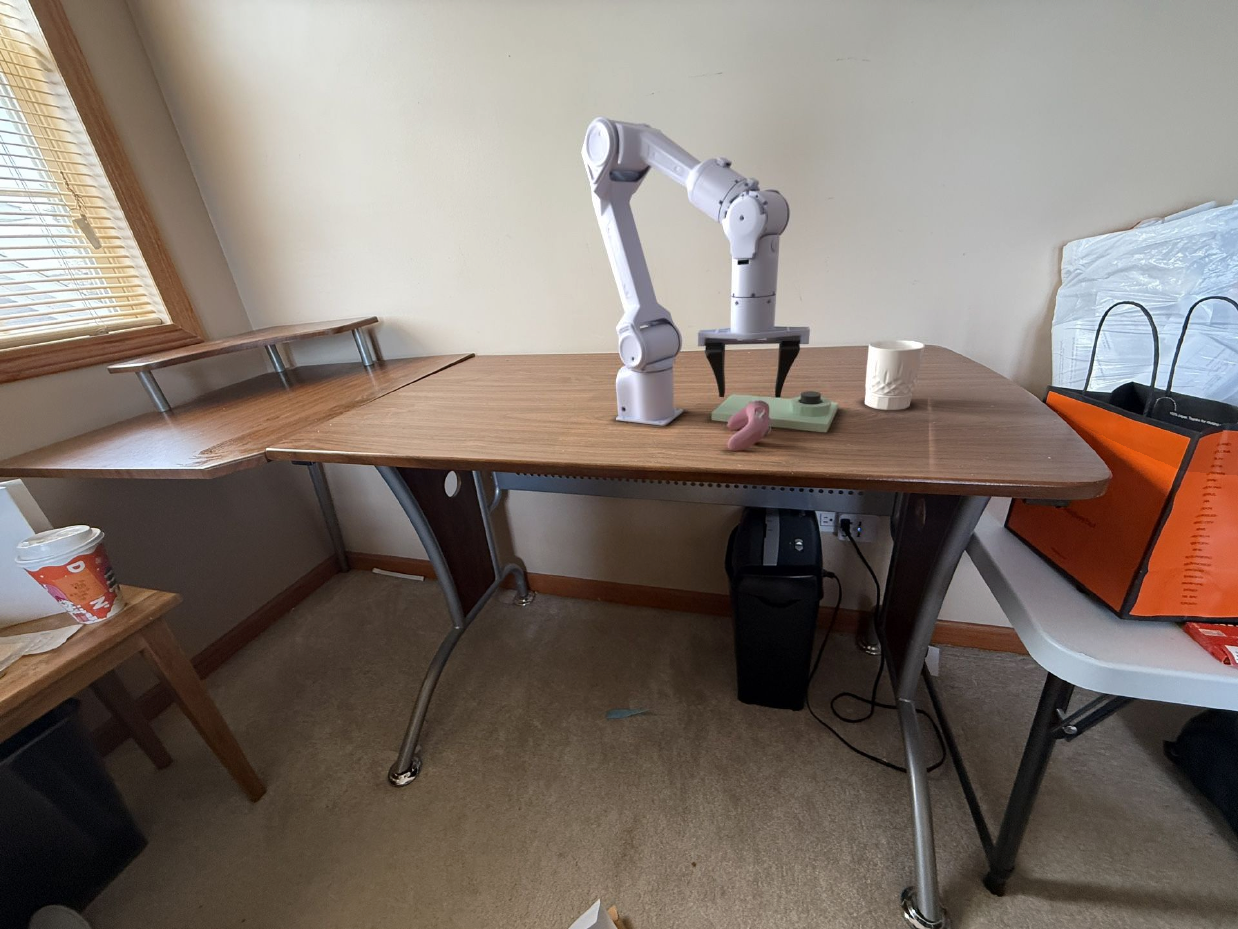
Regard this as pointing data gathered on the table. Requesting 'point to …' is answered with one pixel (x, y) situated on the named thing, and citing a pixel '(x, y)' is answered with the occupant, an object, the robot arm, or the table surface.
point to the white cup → (892, 373)
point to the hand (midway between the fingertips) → (749, 395)
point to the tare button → (810, 398)
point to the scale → (783, 412)
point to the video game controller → (749, 425)
